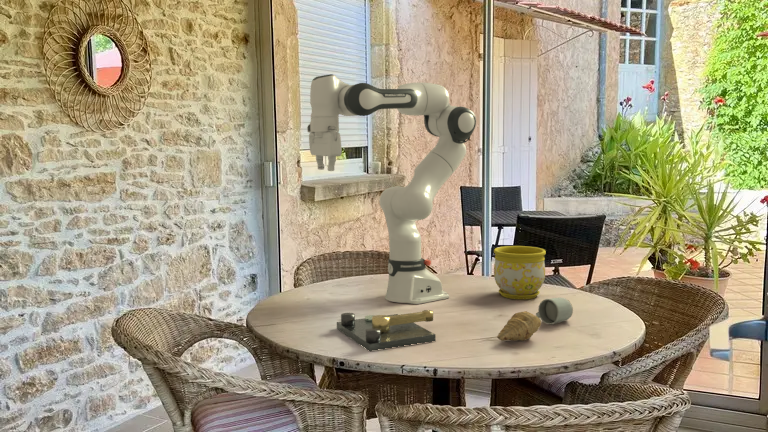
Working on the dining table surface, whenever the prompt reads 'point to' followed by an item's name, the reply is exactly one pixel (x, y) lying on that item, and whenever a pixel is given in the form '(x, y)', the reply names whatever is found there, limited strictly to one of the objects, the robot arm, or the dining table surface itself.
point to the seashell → (520, 327)
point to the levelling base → (382, 333)
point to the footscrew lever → (400, 319)
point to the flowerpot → (519, 271)
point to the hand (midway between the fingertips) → (325, 170)
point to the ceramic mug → (554, 310)
